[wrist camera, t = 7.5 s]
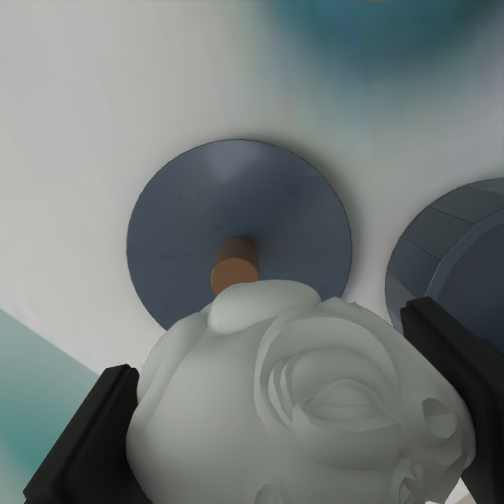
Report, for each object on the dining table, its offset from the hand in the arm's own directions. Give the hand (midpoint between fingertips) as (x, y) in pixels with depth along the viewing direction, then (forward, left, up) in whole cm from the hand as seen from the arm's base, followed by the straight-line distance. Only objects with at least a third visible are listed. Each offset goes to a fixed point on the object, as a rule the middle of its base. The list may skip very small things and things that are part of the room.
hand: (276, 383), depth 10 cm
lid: (+1, -2, -17) cm, 17 cm away
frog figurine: (0, 0, -2) cm, 2 cm away
